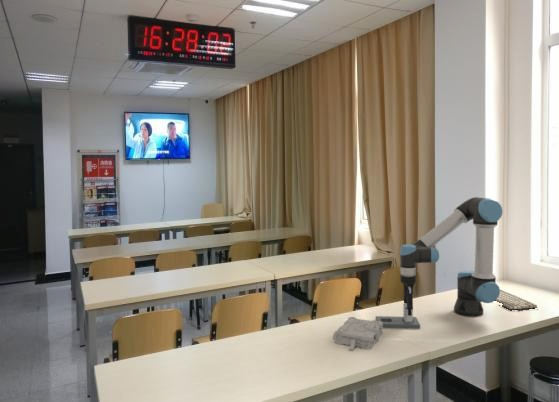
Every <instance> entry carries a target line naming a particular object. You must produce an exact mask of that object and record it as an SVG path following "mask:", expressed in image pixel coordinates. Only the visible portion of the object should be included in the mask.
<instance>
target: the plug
mask: <svg viewBox="0 0 559 402" xmlns="http://www.w3.org/2000/svg"><path fill="white" fill-rule="evenodd" d="M409 307H411V306H409ZM406 308H407V303H403V310H402V311H403V316H402V317H404V322H413V317H414V316H413V315H414V311H413V310H414V308H413V309H412V321H406Z"/></svg>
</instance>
